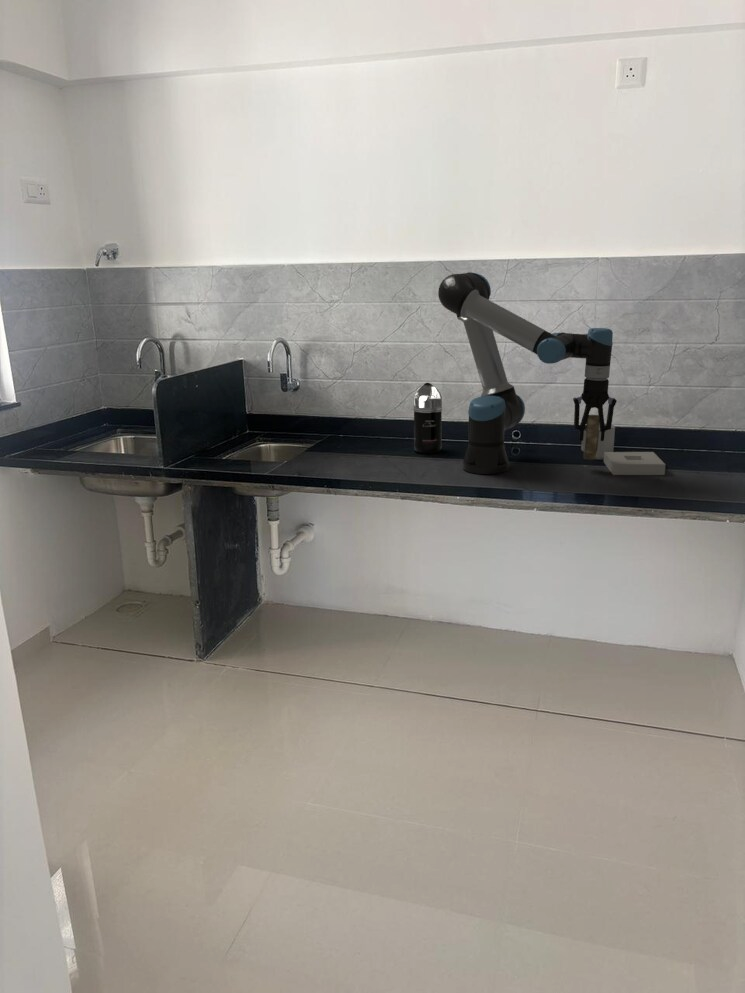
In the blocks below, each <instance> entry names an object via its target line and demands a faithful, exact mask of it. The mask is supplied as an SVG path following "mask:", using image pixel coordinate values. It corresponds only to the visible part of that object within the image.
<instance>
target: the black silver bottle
mask: <svg viewBox="0 0 745 993" xmlns="http://www.w3.org/2000/svg"><path fill="white" fill-rule="evenodd" d="M441 394H442V393H441V392H440V391H439V389H438V388H437V387H435V386H434V385H433V384H432V383H430V382H425V383H424V384H422V386H420V387H419V388H418V389H417V390H416V391H415V392H414V395H413V437H414V438H413V444H414V446H413V448H414V451H416V452H417V453H420V454H426V453H429V454H435V453H438V452H440V451H441V450H442V438H443V437H442V435H443V434H442V427H443V426H442V422H443V421H442V415H443V414H442V410H443V405H442V404H443V401H442V400H443V396H442V395H441Z"/></svg>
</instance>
